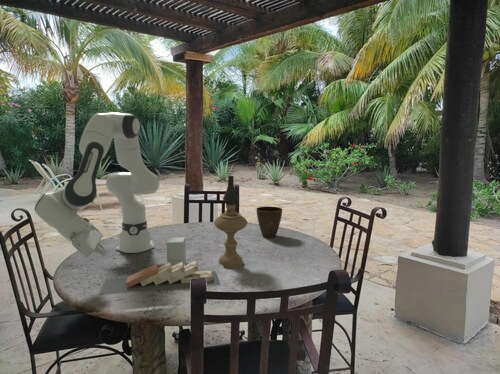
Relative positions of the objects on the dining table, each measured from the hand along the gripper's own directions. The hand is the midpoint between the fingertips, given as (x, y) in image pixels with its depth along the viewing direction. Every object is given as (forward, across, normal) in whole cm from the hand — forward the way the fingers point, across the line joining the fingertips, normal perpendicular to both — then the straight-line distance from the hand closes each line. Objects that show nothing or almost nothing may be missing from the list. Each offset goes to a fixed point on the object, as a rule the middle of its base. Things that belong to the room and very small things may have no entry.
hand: (105, 253), depth 136 cm
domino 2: (+17, 0, 0) cm, 17 cm away
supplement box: (+28, +17, -9) cm, 34 cm away
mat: (+24, 0, -5) cm, 24 cm away
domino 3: (+21, 0, -4) cm, 21 cm away
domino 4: (+24, 0, -8) cm, 26 cm away
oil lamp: (+45, +17, -26) cm, 55 cm away
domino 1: (+14, 0, +3) cm, 14 cm away
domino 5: (+28, 0, -11) cm, 30 cm away
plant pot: (+66, +56, -46) cm, 99 cm away
